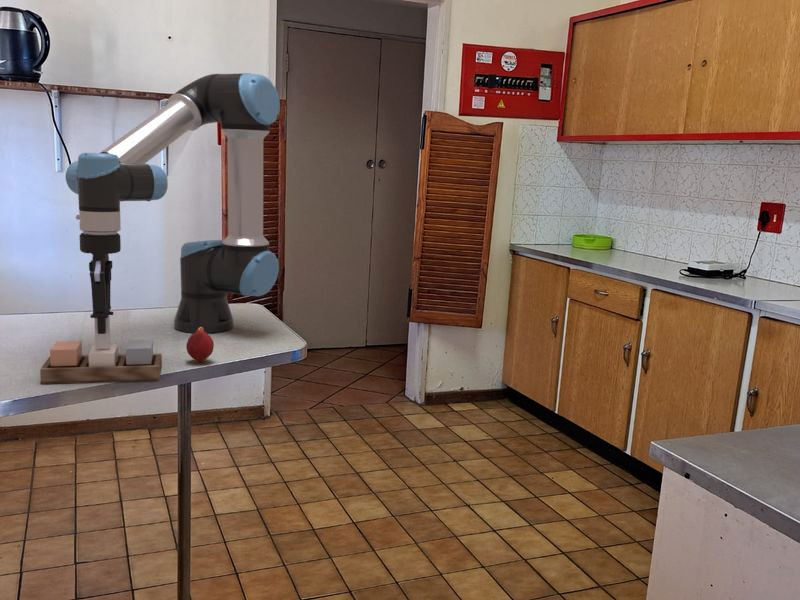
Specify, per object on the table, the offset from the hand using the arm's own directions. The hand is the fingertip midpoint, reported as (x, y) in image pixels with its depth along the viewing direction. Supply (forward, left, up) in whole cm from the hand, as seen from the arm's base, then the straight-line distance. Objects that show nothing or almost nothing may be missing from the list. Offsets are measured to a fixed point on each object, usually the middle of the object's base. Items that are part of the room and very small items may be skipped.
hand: (102, 347), depth 150 cm
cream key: (0, 0, -4) cm, 4 cm away
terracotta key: (+7, 0, -3) cm, 7 cm away
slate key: (-7, 0, -3) cm, 8 cm away
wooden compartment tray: (0, 0, -6) cm, 6 cm away
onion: (-19, -8, -6) cm, 22 cm away
